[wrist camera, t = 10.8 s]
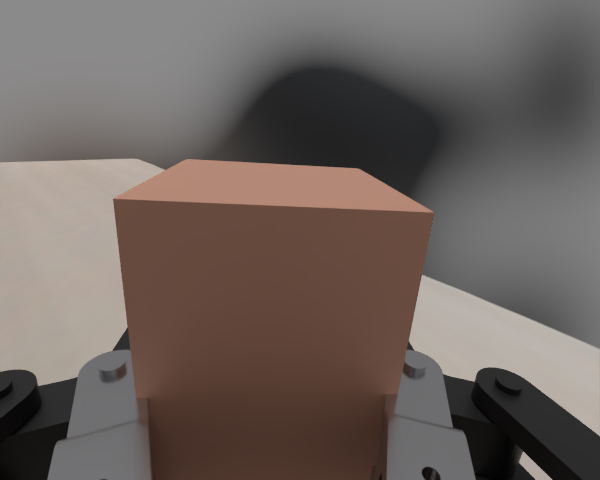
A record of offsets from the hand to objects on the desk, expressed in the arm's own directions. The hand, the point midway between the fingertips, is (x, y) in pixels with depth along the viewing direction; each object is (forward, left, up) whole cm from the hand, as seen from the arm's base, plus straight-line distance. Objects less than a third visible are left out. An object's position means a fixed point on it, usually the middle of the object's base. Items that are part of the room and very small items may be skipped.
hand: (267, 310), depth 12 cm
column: (+1, -3, -7) cm, 8 cm away
